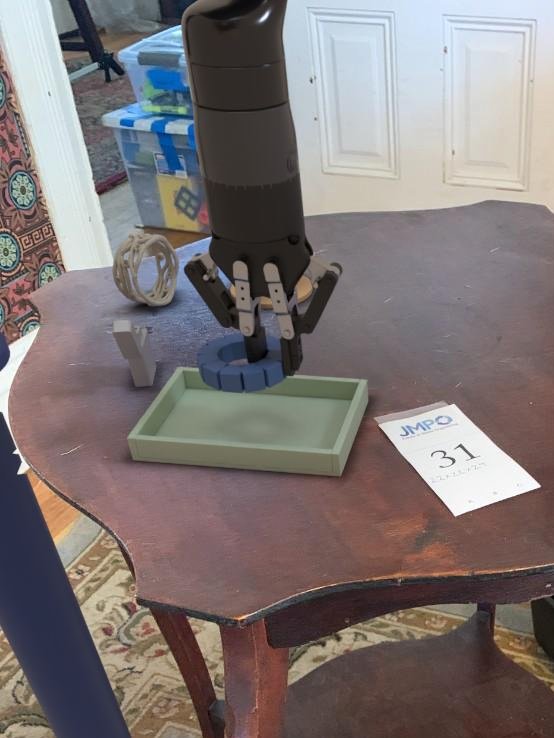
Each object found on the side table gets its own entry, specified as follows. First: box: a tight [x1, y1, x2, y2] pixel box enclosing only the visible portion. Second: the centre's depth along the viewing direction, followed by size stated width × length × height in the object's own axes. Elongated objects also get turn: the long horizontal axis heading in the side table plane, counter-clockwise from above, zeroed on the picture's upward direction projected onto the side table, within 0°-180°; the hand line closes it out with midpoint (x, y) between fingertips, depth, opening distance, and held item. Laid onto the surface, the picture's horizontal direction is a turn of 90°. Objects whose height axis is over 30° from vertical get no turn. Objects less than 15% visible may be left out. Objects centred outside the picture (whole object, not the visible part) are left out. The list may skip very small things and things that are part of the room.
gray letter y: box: [111, 319, 157, 388], centre depth 85 cm, size 7×2×8 cm, turn 8°
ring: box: [196, 332, 287, 393], centre depth 77 cm, size 8×8×2 cm
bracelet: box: [112, 232, 180, 307], centre depth 100 cm, size 4×8×8 cm, turn 157°
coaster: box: [229, 274, 314, 310], centre depth 105 cm, size 10×10×1 cm
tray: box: [126, 366, 369, 477], centre depth 81 cm, size 19×13×2 cm
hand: (276, 370), depth 77 cm, fingers closed on ring, 2 cm apart
